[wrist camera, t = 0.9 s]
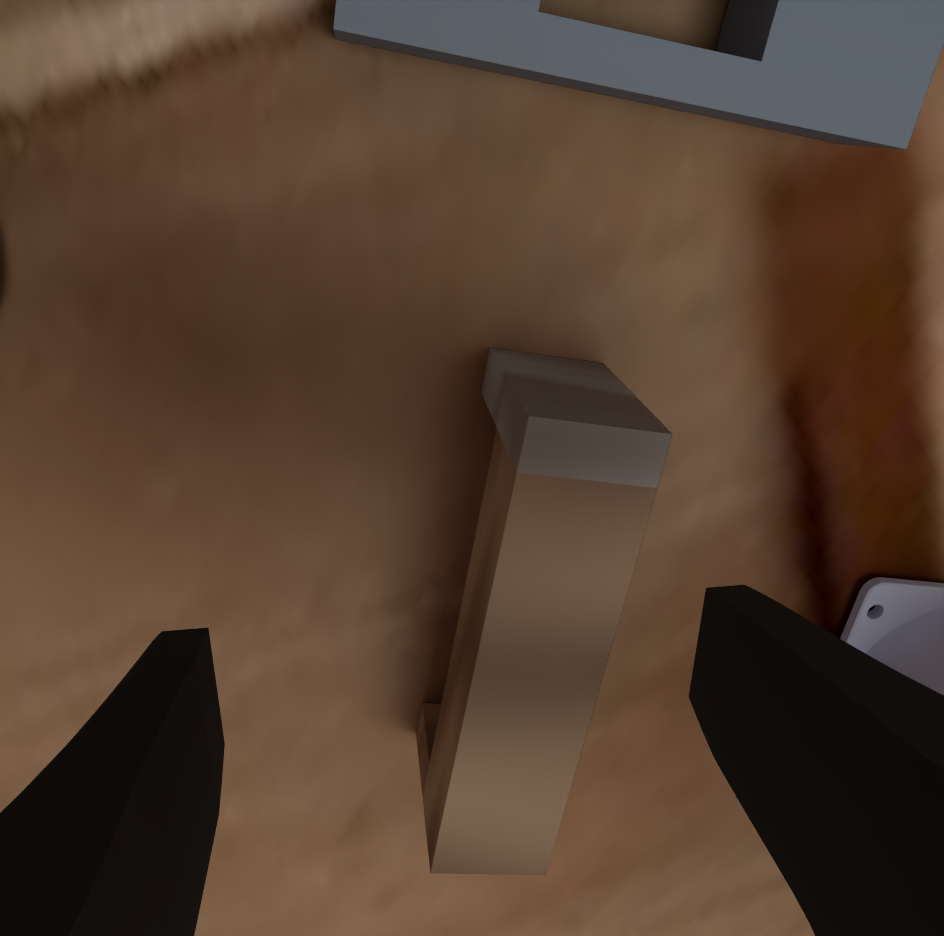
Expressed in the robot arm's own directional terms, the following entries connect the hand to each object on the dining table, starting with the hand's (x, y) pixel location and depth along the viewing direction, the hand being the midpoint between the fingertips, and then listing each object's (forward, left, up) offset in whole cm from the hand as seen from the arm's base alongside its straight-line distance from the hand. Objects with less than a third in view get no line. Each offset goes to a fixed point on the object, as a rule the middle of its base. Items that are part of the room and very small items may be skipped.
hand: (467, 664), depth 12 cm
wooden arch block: (-4, -3, -10) cm, 11 cm away
